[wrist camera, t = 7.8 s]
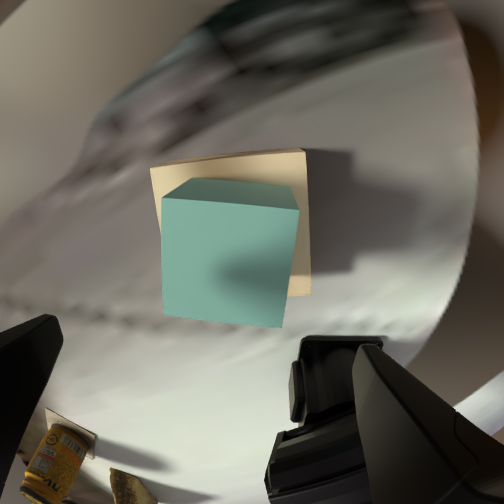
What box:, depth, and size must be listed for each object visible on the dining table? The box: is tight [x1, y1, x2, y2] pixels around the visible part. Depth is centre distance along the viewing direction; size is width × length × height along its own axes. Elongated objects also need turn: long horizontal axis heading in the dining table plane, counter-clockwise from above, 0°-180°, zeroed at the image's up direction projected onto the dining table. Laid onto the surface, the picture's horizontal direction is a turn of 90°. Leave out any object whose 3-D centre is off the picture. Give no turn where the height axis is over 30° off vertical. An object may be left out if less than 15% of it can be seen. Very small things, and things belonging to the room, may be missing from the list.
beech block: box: [150, 148, 311, 297], centre depth 19 cm, size 8×8×4 cm
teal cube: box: [161, 178, 300, 328], centre depth 15 cm, size 5×5×5 cm
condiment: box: [20, 408, 95, 504], centre depth 26 cm, size 7×8×12 cm
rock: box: [110, 468, 158, 504], centre depth 33 cm, size 11×9×10 cm
